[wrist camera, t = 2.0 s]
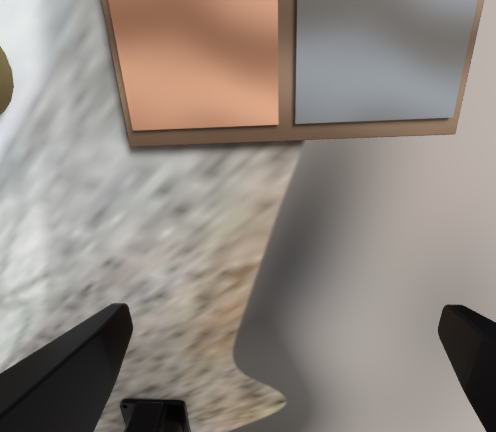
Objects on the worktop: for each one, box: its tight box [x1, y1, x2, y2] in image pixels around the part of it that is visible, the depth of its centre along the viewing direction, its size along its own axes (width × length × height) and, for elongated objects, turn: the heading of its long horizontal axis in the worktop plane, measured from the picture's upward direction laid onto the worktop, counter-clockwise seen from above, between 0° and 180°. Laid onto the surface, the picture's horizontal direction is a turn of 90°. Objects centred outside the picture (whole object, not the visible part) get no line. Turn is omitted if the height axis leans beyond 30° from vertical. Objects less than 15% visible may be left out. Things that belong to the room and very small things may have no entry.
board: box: [102, 0, 484, 146], centre depth 16 cm, size 12×20×1 cm, turn 92°
